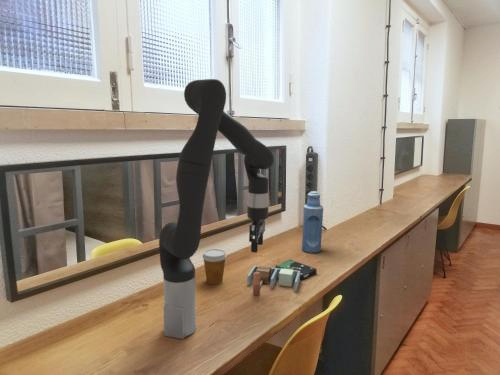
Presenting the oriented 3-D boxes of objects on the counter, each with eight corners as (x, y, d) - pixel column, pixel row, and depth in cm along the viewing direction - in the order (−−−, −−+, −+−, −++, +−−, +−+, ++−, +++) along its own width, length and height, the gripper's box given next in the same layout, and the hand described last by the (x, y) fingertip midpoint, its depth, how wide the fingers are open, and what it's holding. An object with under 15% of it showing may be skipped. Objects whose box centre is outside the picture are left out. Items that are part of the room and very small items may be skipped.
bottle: (319, 247, 184) (322, 190, 179) (321, 254, 174) (325, 194, 169) (301, 246, 185) (303, 189, 180) (302, 253, 175) (304, 193, 170)
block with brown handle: (262, 295, 131) (262, 275, 129) (249, 294, 132) (249, 273, 131) (270, 278, 146) (271, 259, 144) (258, 277, 147) (259, 258, 146)
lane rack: (296, 292, 134) (296, 282, 134) (247, 285, 139) (247, 275, 138) (299, 280, 145) (300, 270, 144) (254, 274, 149) (254, 265, 149)
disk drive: (316, 275, 151) (289, 264, 162) (317, 268, 151) (289, 258, 161) (302, 282, 144) (274, 270, 155) (302, 275, 144) (274, 264, 154)
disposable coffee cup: (229, 277, 146) (229, 249, 144) (221, 287, 137) (221, 258, 135) (208, 274, 148) (207, 247, 146) (198, 284, 139) (198, 255, 137)
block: (291, 286, 139) (291, 274, 138) (278, 285, 140) (279, 273, 139) (293, 281, 143) (293, 269, 143) (280, 280, 145) (281, 268, 144)
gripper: (263, 210, 119) (262, 256, 122) (272, 201, 133) (271, 243, 135) (242, 208, 121) (241, 253, 124) (252, 200, 134) (252, 241, 137)
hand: (257, 248), depth 130 cm, fingers open, 8 cm apart
